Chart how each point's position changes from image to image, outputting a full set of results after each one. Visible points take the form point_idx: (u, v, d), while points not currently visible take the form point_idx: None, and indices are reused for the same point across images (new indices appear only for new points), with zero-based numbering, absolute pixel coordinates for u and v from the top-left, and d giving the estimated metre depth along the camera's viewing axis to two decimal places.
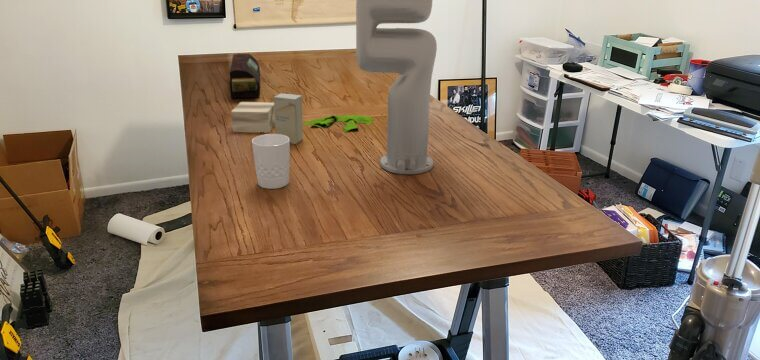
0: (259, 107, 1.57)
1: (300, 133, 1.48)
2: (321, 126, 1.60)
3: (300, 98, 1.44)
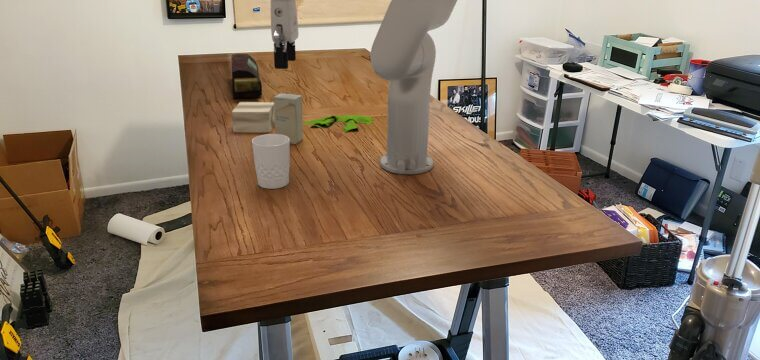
0: (259, 107, 1.57)
1: (300, 133, 1.48)
2: (321, 126, 1.60)
3: (300, 98, 1.44)
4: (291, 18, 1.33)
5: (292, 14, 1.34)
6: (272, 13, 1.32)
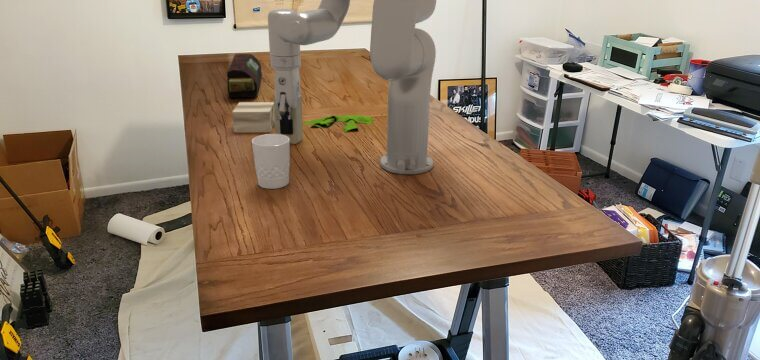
0: (260, 106, 1.57)
1: (300, 133, 1.48)
2: (321, 126, 1.60)
3: (300, 98, 1.44)
4: (294, 86, 1.40)
5: (295, 82, 1.40)
6: (276, 82, 1.38)
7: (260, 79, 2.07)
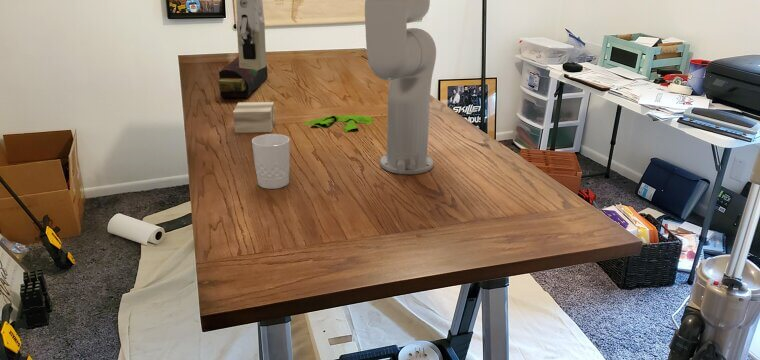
0: (260, 106, 1.57)
1: (263, 59, 1.51)
2: (321, 126, 1.60)
3: (263, 23, 1.47)
4: (256, 9, 1.42)
5: (257, 5, 1.43)
6: (238, 4, 1.41)
7: (263, 80, 2.07)
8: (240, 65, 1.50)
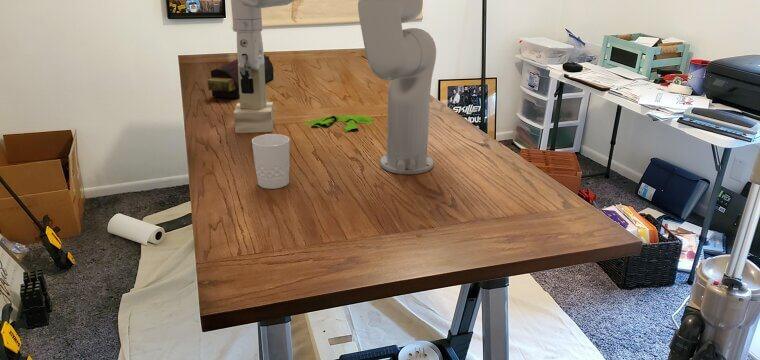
0: None
1: (264, 99, 1.56)
2: (321, 126, 1.60)
3: (263, 65, 1.53)
4: (255, 48, 1.47)
5: (256, 44, 1.48)
6: (238, 44, 1.46)
7: (265, 80, 2.06)
8: (241, 105, 1.55)
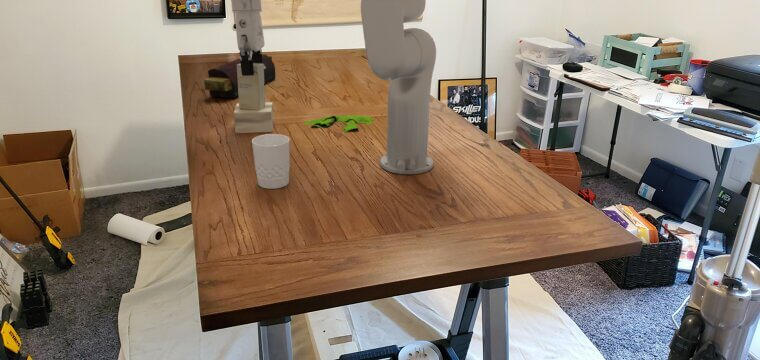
0: None
1: (263, 100, 1.56)
2: (321, 126, 1.60)
3: (262, 66, 1.53)
4: (255, 29, 1.45)
5: (256, 25, 1.46)
6: (237, 25, 1.44)
7: (266, 81, 2.05)
8: (240, 106, 1.55)
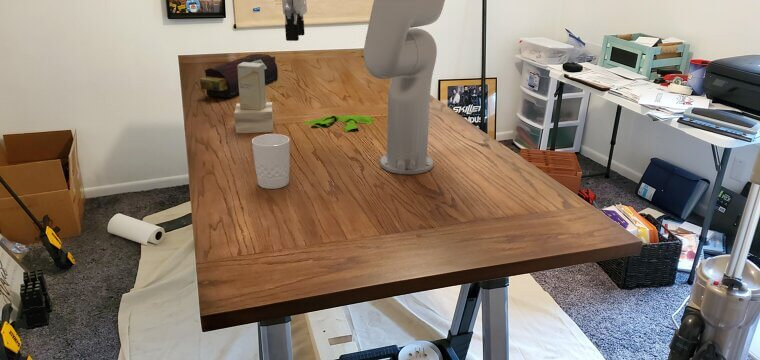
0: None
1: (263, 100, 1.56)
2: (321, 126, 1.60)
3: (262, 66, 1.52)
4: None
5: None
6: None
7: (267, 81, 2.05)
8: (241, 106, 1.55)
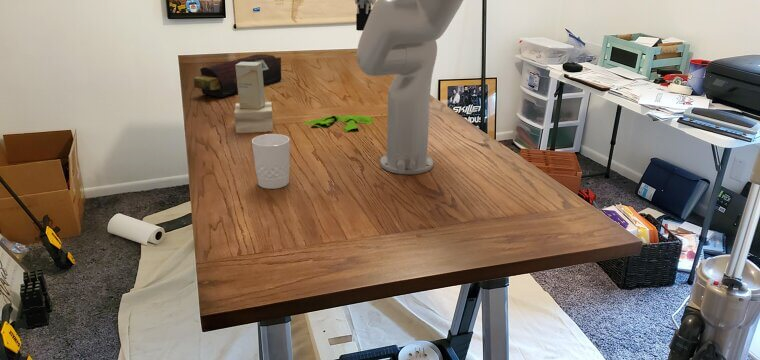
0: None
1: (263, 98, 1.56)
2: (321, 126, 1.60)
3: (260, 65, 1.53)
4: None
5: None
6: None
7: (268, 82, 2.04)
8: (240, 105, 1.55)
